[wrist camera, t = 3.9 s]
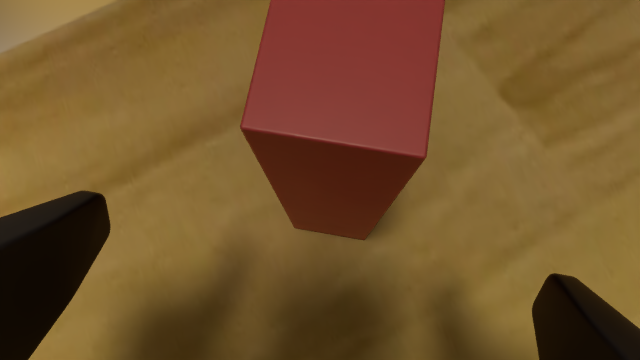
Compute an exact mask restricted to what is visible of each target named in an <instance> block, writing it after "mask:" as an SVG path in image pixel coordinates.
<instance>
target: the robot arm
mask: <svg viewBox="0 0 640 360" xmlns="http://www.w3.org/2000/svg"><path fill="white" fill-rule="evenodd" d="M109 233H110V220H109V215H108V209H107V204H106V200H105V197H104V196H103V195H102V194H100V193H96V192H90V191H79V192H76V193H73V194H70V195H67V196H64V197H61V198H58V199H55V200H52V201H49V202H46V203H43V204H40V205H37V206H34V207H31V208H28V209H25V210H22V211H19V212H16V213H13V214H10V215H7V216H4V217H1V218H0V360H28V359H29V358H30V356H31V355H32V354H33V352H34V351H35V349H36V348H37V347H38V345H39V344H40V343H41V341H42V340H43V338H44V337H45V336H46V334H47V333H48V332H49V330H50V329H51V327H52V326H53V325H54V323H55V322H56V321H57V319H58V318H59V316H60V315H61V314H62V312H63V311H64V310H65V308H66V307H67V305H68V304H69V302H70V301H71V299H72V298H73V296H74V295H75V293H76V291H77V290H78V288H79V286H80V285H81V283H82V281H83V280H84V278H85V276H86V274H87V273H88V271H89V269H90V267H91V266H92V264H93V262H94V261H95V259H96V257H97V255H98V254H99V252H100V250H101V248H102V247H103V245H104V243H105V242H106V240H107V238H108V236H109ZM532 316H533V323H534V329H535V335H536V341H537V347H538V354H539V360H640V329H639V328H638V327H637V326H635V325H634V324H633V323H632V322H630V321H629V320H628V319H627V318H625V317H624V316H623V315H622V314H620V313H619V312H618V311H617V310H615V309H614V308H613V307H612V306H610V305H609V304H608V303H607V302H605V301H604V300H603V299H602V298H600V297H599V296H598V295H597V294H595V293H594V292H593V291H592V290H590V289H589V288H588V287H587V286H585V285H584V284H583V283H582V282H580V281H579V280H578V279H577V278H575V277H572V276H567V275H562V274H556V273H554V274H551V275H549V276H548V277H547V279H546V280H545V282H544V284H543V286H542V288H541V290H540V291H539V293H538V295H537V297H536V299H535V301H534V303H533V307H532Z"/></svg>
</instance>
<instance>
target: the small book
mask: <svg viewBox="0 0 640 360" xmlns="http://www.w3.org/2000/svg"><path fill="white" fill-rule="evenodd" d="M444 5H445V0H271V1H270V6H269V10H268V14H267V18H266V22H265V26H264V30H263V34H262V39H261V43H260V47H259V51H258V55H257V59H256V63H255V67H254V72H253V76H252V80H251V84H250V88H249V92H248V96H247V100H246V105H245V109H244V113H243V117H242V121H241V125H240V128H241V131H242V132H243V134H244V136H245V138H246V140H247V142H248V143H249V145H250V147H251V149H252V151H253V153H254V154H255V156H256V158H257V160H258V162H259V164H260V165H261V167H262V169H263V171H264V173H265V175H266V176H267V178H268V180H269V182H270V184H271V186H272V187H273V189H274V191H275V193H276V195H277V197H278V198H279V200H280V202H281V204H282V206H283V208H284V209H285V211H286V213H287V215H288V217H289V219H290V220H291V222H292V224H293V226H294V228H298V229H303V230H309V231H315V232H321V233H326V234H332V235H338V236H343V237H349V238H355V239H360V240H365V239H366V237H367V236H368V235H369V233H370V232H371V231H372V229H373V228H374V227H375V225H376V224H377V223H378V221H379V220H380V218H381V217H382V216H383V214H384V213H385V212H386V210H387V209H388V208H389V206H390V205H391V204H392V202H393V201H394V200H395V198H396V197H397V196H398V194H399V193H400V192H401V190H402V189H403V188H404V186H405V185H406V184H407V182H408V181H409V180H410V178H411V177H412V176H413V174H414V173H415V172H416V170H417V169H418V168H419V166H420V165H421V164H422V162H423V161H424V160H425V158H426V157H427V148H428V140H429V131H430V123H431V115H432V106H433V98H434V89H435V81H436V73H437V64H438V56H439V47H440V39H441V31H442V22H443V14H444Z"/></svg>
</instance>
